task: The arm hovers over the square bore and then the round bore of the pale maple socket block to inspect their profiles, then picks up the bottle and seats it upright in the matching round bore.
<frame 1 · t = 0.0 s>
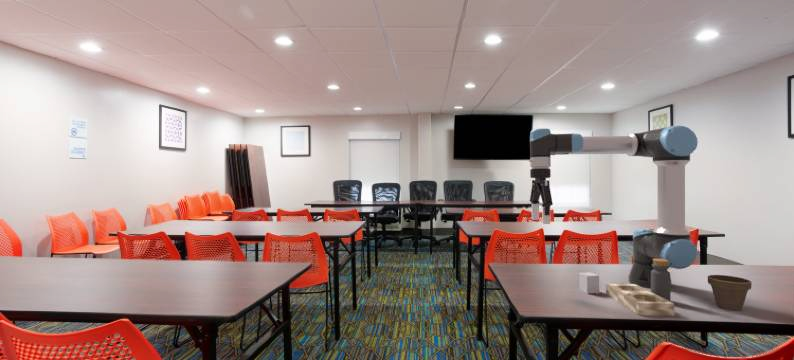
hand: (540, 221, 147), 28 cm above the table, fingers open, 13 cm apart
square bit: (589, 291, 147), on the table
bore block: (637, 303, 133), on the table
bottle: (660, 301, 136), on the table
flower pot: (728, 307, 129), on the table
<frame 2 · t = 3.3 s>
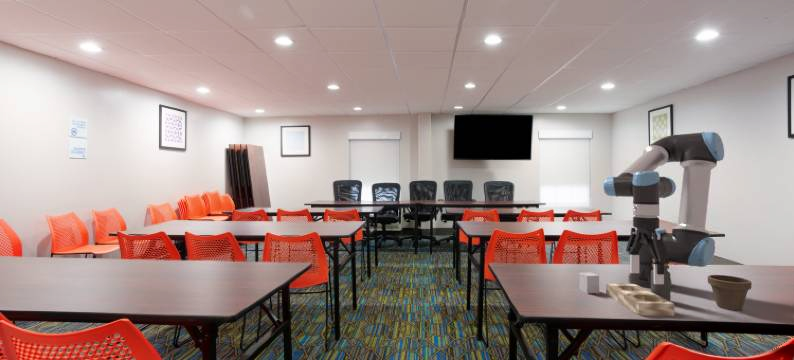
hand: (646, 278, 127), 11 cm above the table, fingers open, 13 cm apart
nothing on the table moved.
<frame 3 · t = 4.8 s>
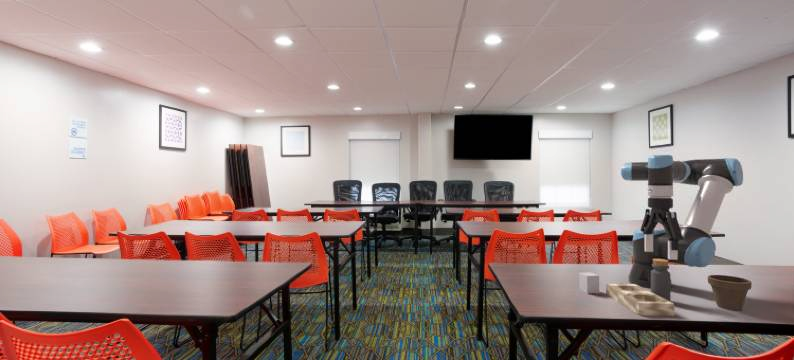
hand: (660, 255, 136), 17 cm above the table, fingers open, 13 cm apart
nothing on the table moved.
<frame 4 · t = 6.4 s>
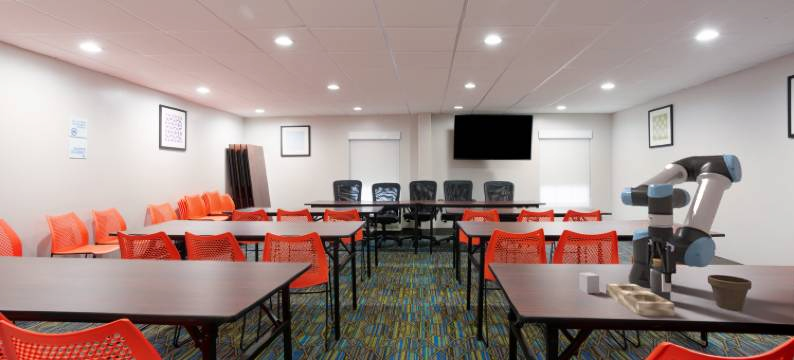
hand: (660, 288, 136), 4 cm above the table, fingers closed on bottle, 6 cm apart
bottle: (660, 301, 136), on the table, touching gripper
everything else where it was.
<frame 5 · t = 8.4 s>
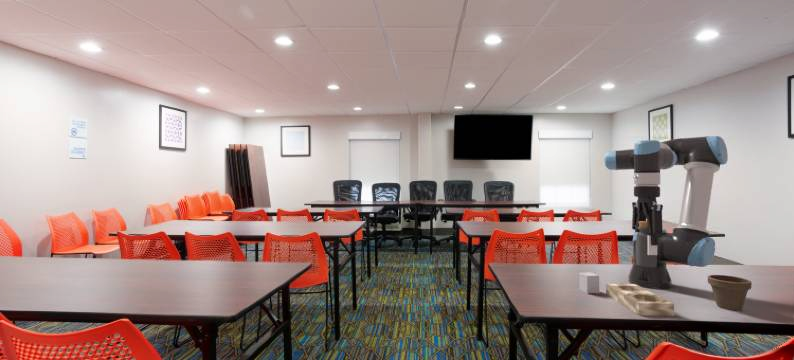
hand: (646, 252, 127), 19 cm above the table, fingers closed on bottle, 6 cm apart
bottle: (646, 265, 127), point 15 cm above the table, touching gripper
everything else where it was.
when the fingers open (6 cm above the table, at t = 10.7 s): bottle drops 1 cm, resting in bore block.
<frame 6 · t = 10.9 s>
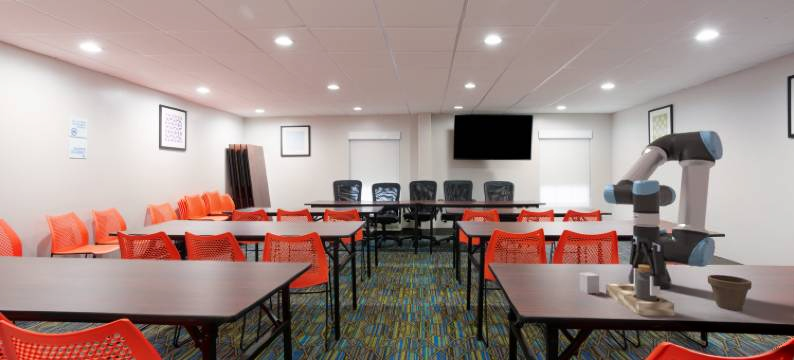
hand: (646, 290, 127), 6 cm above the table, fingers open, 9 cm apart
bottle: (646, 310, 127), resting in bore block
everything else where it was.
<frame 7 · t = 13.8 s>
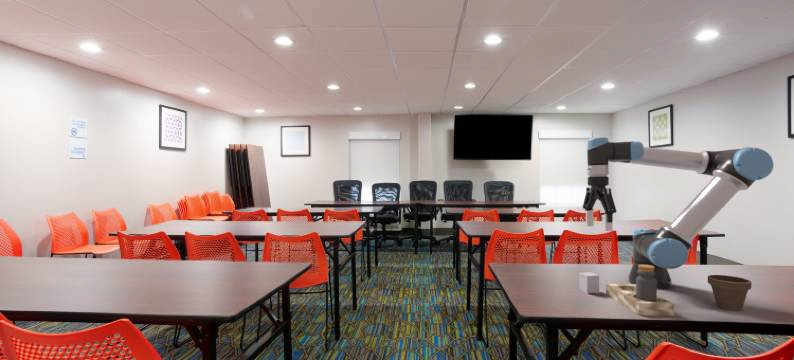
hand: (598, 228, 150), 25 cm above the table, fingers open, 13 cm apart
nothing on the table moved.
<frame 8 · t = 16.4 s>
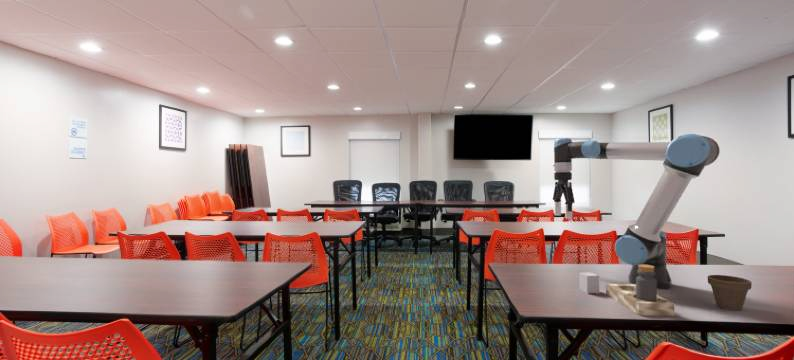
hand: (563, 217, 174), 27 cm above the table, fingers open, 13 cm apart
nothing on the table moved.
at the end: bottle 0.1 cm from the target spot on the bore block, point 0.0 cm above the bore block's base; bottle tilted 0°; the gripper is holding nothing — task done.
